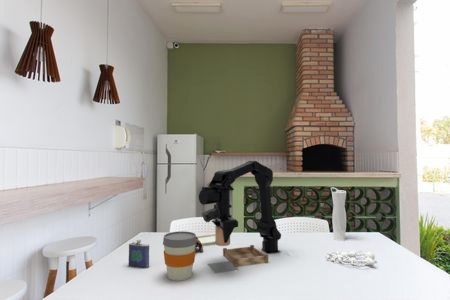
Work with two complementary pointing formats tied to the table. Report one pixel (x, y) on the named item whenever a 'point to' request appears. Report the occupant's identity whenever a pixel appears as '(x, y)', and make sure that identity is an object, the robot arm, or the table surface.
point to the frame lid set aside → (207, 239)
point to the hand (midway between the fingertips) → (222, 240)
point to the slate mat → (222, 267)
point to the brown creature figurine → (199, 245)
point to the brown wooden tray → (245, 256)
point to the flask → (138, 255)
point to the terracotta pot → (220, 237)
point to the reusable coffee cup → (179, 254)
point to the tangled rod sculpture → (352, 258)
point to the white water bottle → (339, 214)
